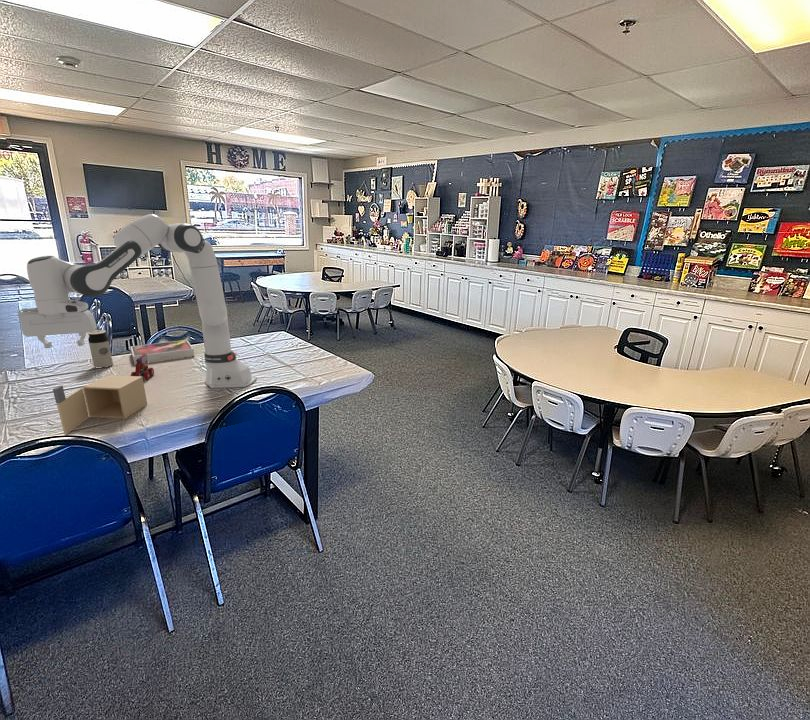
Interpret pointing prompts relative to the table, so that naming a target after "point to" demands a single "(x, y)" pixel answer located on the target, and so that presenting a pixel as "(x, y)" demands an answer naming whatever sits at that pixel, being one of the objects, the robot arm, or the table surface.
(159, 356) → the product packaging
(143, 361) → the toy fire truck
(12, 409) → the table surface
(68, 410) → the carton flap
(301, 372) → the table surface
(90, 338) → the travel mug
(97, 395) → the carton
